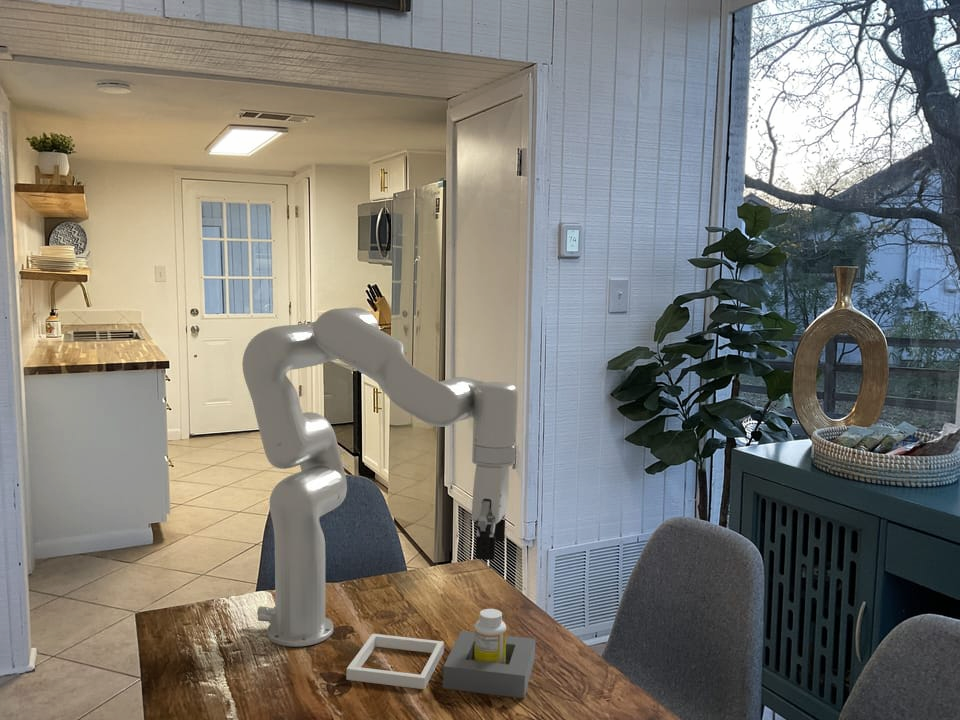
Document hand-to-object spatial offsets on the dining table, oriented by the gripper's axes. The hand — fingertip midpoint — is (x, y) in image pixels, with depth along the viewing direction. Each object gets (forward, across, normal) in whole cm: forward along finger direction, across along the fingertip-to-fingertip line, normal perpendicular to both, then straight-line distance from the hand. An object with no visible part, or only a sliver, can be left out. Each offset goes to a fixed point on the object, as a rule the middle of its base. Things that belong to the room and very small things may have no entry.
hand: (490, 549), depth 142 cm
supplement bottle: (+22, +1, +1) cm, 22 cm away
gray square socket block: (+22, +1, +1) cm, 23 cm away
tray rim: (+23, +2, -16) cm, 28 cm away
